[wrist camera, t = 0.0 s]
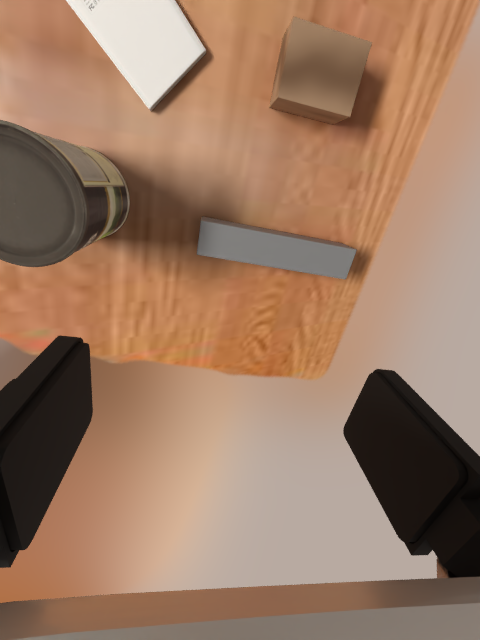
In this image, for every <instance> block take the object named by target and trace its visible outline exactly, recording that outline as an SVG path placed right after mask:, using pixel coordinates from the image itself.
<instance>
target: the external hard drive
mask: <svg viewBox="0 0 480 640" xmlns="http://www.w3.org/2000/svg"><path fill="white" fill-rule="evenodd" d="M66 1H67V2H68V4H69V5H70V6H71V8H72V9H73V10H74V11H75V13H76V14H77V15H78V17H79V18H80V19H81V21H82V22H83V23H84V25H85V26H86V27H87V29H88V30H89V31H90V33H91V34H92V35H93V37H94V38H95V39H96V40H97V42H98V43H99V44H100V46H101V47H102V48H103V50H104V51H105V52H106V54H107V55H108V56H109V57H110V59H111V60H112V61H113V63H114V64H115V65H116V67H117V68H118V69H119V71H120V72H121V73H122V75H123V76H124V77H125V78H126V80H127V81H128V82H129V84H130V85H131V86H132V88H133V89H134V90H135V91H136V93H137V94H138V95H139V97H140V98H141V99H142V101H143V102H144V103H145V105H146V106H147V107H148V108H149V110H150V111H152V110H153V109H154V108H155V107H156V105H157V104H158V103H159V102H160V101H161V100H162V99H163V98H164V97H165V96H166V95H167V94H168V93H169V92H170V91H171V90H172V89H173V88H174V86H175V85H176V84H177V83H178V82H179V81H180V80H181V79H182V78H183V77H184V76H185V75H186V74H187V73H188V72H189V71H190V70H191V69H192V68H193V67H194V66H195V64H196V63H197V62H198V61H199V60H200V59H201V58H202V57H203V56H204V55H205V54H206V49H205V47H204V46H203V44H202V43H201V41H200V39H199V38H198V36H197V35H196V33H195V31H194V30H193V28H192V27H191V25H190V23H189V22H188V20H187V19H186V17H185V15H184V14H183V12H182V11H181V9H180V7H179V6H178V4H177V3H176V1H175V0H66Z"/></svg>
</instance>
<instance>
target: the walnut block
mask: <svg viewBox="0 0 480 640" xmlns="http://www.w3.org/2000/svg"><path fill="white" fill-rule="evenodd" d="M371 44H372V42H370V41H367V40H364V39H360V38H357V37H354V36H351V35H348V34H345V33H342V32H339V31H336V30H333V29H330V28H327V27H324V26H321V25H318V24H315V23H312V22H309V21H306V20H303V19H300V18H297V17H293V19H292V21H291V23H290V25H289V26H288V28H287V30H286V32H285V34H284V36H283V38H282V43H281V48H280V53H279V59H278V64H277V69H276V75H275V80H274V85H273V91H272V96H271V101H270V106H269V108H272V109H276V110H280V111H284V112H287V113H291V114H295V115H299V116H302V117H306V118H310V119H314V120H318V121H321V122H325V123H329V124H333V125H334V124H336V123H338V122H340V121H343V120H345V119H347V118H349V117H350V115H351V112H352V109H353V105H354V102H355V98H356V95H357V92H358V88H359V85H360V81H361V78H362V75H363V71H364V68H365V64H366V61H367V58H368V54H369V51H370V47H371Z"/></svg>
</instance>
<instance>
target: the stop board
mask: <svg viewBox="0 0 480 640" xmlns="http://www.w3.org/2000/svg"><path fill="white" fill-rule="evenodd" d="M356 251H357V250H356V249H354V248H352V247H349V246H347V245H345V244H343V243H339V242H334V241H328V240H323V239H318V238H313V237H307V236H302V235H297V234H292V233H287V232H281V231H276V230H271V229H266V228H260V227H255V226H250V225H245V224H240V223H234V222H229V221H224V220H219V219H213V218H208V217H203V216H202V218H201V224H200V232H199V240H198V248H197V255H202V256H208V257H214V258H220V259H226V260H232V261H238V262H244V263H250V264H256V265H262V266H268V267H274V268H280V269H286V270H292V271H298V272H304V273H310V274H316V275H322V276H328V277H334V278H340V279H346V278H347V275H348V272H349V269H350V267H351V264H352V261H353V259H354V256H355V253H356Z"/></svg>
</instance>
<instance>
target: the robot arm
mask: <svg viewBox="0 0 480 640" xmlns="http://www.w3.org/2000/svg"><path fill="white" fill-rule="evenodd" d="M92 412H93V408H92V388H91V369H90V348H89V344H88V343H83V340H82V338H78V337H69V336H58V337H57V338H56V339H55V340H54V341H53V342H52V343H51V344H50V345H49V346H48V347H47V348H46V349H45V350H44V351H43V352H42V353H41V354H40V355H39V356H38V357H37V358H36V359H35V360H34V361H33V362H32V363H31V364H30V365H29V366H28V367H27V368H26V369H25V370H24V371H23V372H22V373H21V374H20V375H19V376H18V378H16V379H13V380H12V381H10V382H9V383H8V384H7V385H6V386H5V387H4V388H3V389H2V390H1V391H0V568H4V567H11V565H12V563H13V561H14V559H15V557H16V555H17V554H18V552H19V550H25V549H26V548H28V546H29V545H30V543H31V541H32V540H33V538H34V536H35V533H36V532H37V529H38V527H39V525H40V523H41V521H42V519H43V517H44V515H45V513H46V511H47V509H48V507H49V505H50V503H51V501H52V499H53V497H54V495H55V493H56V491H57V489H58V487H59V485H60V483H61V481H62V479H63V477H64V474H65V473H66V471H67V469H68V466H69V464H70V462H71V460H72V458H73V456H74V454H75V452H76V450H77V448H78V446H79V444H80V442H81V440H82V438H83V436H84V434H85V432H86V430H87V428H88V426H89V424H90V422H91V418H92ZM344 436H345V439H346V441H347V442H348V444H349V446H350V448H351V450H352V452H353V454H354V455H355V457H356V459H357V461H358V463H359V465H360V467H361V468H362V470H363V472H364V474H365V476H366V477H367V480H368V481H369V483H370V485H371V487H372V489H373V491H374V493H375V495H376V496H377V498H378V500H379V502H380V504H381V505H382V508H383V509H384V511H385V513H386V515H387V517H388V518H389V521H390V522H391V524H392V526H393V528H394V530H395V532H396V534H397V535H398V537H399V538H400V539H401V540H402V541H403V542H404V543H405V544H406V546H407V548H408V550H409V552H410V554H411V555H428V554H429V553H430V552H431V551H432V550H433V551H434V552H435V554H436V555H437V578H436V579H415V580H414V579H411V580H387V581H366V582H344V583H324V584H304V585H303V584H301V585H282V586H260V587H241V588H221V589H203V590H183V591H165V592H146V593H127V594H110V595H96V596H83V597H70V598H55V599H42V600H28V601H14V602H6V603H0V640H480V456H478V454H477V453H476V452H475V451H474V450H473V449H471V447H469V445H468V444H467V443H465V442H464V441H463V439H462V438H461V437H460V436H459V435H458V434H457V433H456V432H455V431H454V430H453V429H452V428H451V427H450V426H449V425H448V424H447V423H446V422H445V421H444V420H443V419H442V418H441V417H440V416H439V415H438V414H437V413H436V412H435V411H434V410H433V409H432V408H431V407H430V406H429V405H428V404H427V403H426V402H425V401H424V400H423V399H422V398H421V397H420V396H419V395H418V394H417V393H416V392H415V391H414V390H413V389H412V388H411V387H410V386H409V385H408V384H407V383H406V382H405V381H404V380H403V379H402V378H401V377H400V376H399V375H398V374H397V373H396V372H395V371H392V370H381V369H377V370H375V371H374V372H373V373H371V374H370V375H369V376H368V378H367V380H366V382H365V384H364V387H363V388H362V391H361V393H360V395H359V397H358V399H357V401H356V403H355V405H354V407H353V409H352V411H351V413H350V416H349V417H348V420H347V422H346V424H345V426H344Z"/></svg>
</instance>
